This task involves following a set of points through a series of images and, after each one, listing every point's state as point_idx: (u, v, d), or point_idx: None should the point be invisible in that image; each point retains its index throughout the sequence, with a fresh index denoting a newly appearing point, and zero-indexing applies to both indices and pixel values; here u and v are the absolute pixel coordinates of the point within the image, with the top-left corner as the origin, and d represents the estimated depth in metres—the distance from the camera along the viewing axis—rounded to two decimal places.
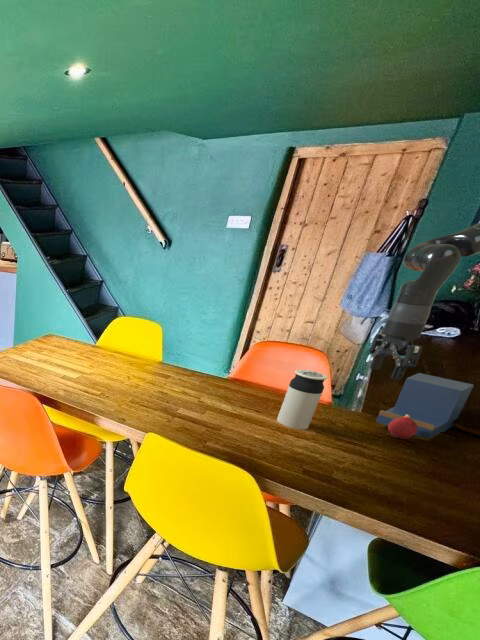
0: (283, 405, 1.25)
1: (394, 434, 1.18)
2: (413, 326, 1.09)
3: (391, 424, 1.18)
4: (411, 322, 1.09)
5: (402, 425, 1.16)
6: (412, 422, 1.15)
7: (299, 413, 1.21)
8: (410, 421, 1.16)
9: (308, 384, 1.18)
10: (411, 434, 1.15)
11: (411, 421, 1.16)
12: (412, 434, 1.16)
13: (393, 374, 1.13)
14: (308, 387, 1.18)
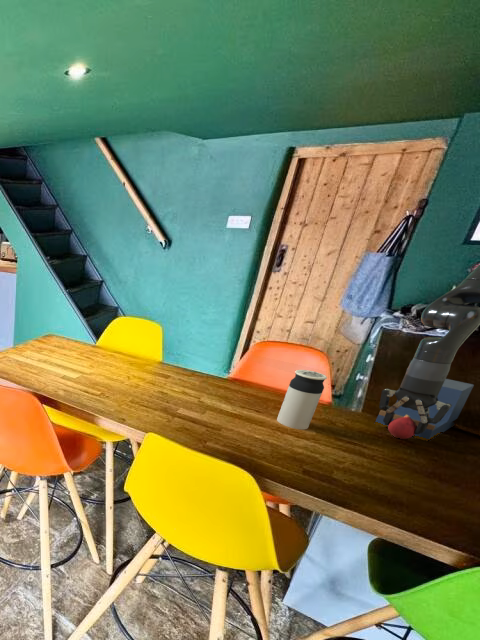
0: (283, 405, 1.25)
1: (394, 434, 1.18)
2: (442, 383, 1.09)
3: (391, 424, 1.18)
4: (442, 380, 1.08)
5: (402, 425, 1.16)
6: (412, 422, 1.15)
7: (299, 413, 1.21)
8: (410, 421, 1.16)
9: (308, 384, 1.18)
10: (411, 434, 1.15)
11: (411, 421, 1.16)
12: (412, 434, 1.16)
13: (418, 430, 1.14)
14: (308, 387, 1.18)
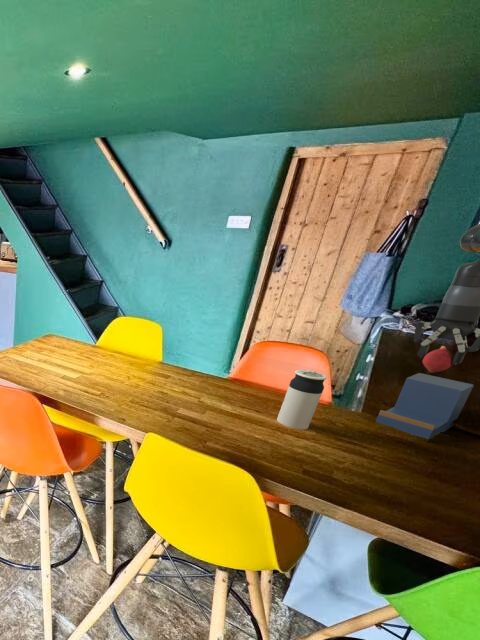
0: (283, 405, 1.25)
1: (429, 367, 1.16)
2: None
3: (426, 357, 1.16)
4: None
5: (439, 356, 1.14)
6: (449, 353, 1.13)
7: (299, 413, 1.21)
8: (446, 352, 1.13)
9: (308, 384, 1.18)
10: (448, 365, 1.13)
11: (447, 352, 1.13)
12: (449, 365, 1.13)
13: (455, 360, 1.12)
14: (308, 387, 1.18)
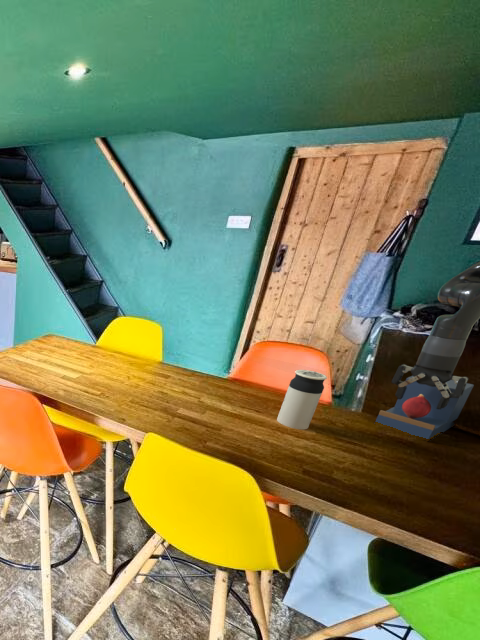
0: (283, 405, 1.25)
1: (408, 413, 1.22)
2: (457, 359, 1.12)
3: (405, 403, 1.22)
4: (457, 356, 1.12)
5: (417, 404, 1.20)
6: (426, 401, 1.19)
7: (299, 413, 1.21)
8: (424, 400, 1.19)
9: (308, 384, 1.18)
10: (425, 413, 1.19)
11: (425, 400, 1.19)
12: (426, 413, 1.19)
13: (440, 405, 1.16)
14: (308, 387, 1.18)
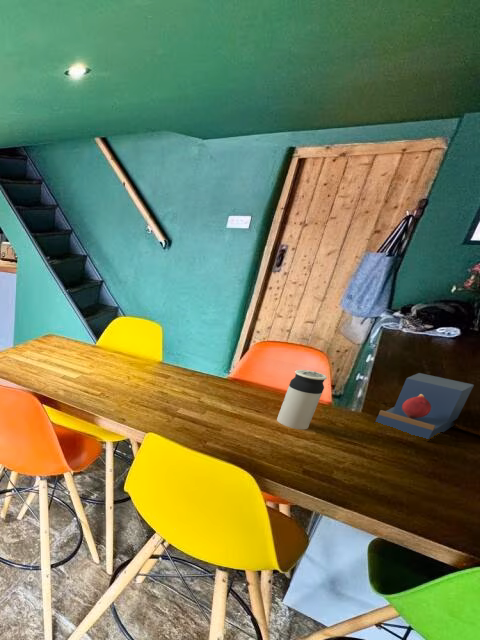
0: (283, 405, 1.25)
1: (408, 413, 1.22)
2: None
3: (405, 403, 1.22)
4: None
5: (417, 404, 1.20)
6: (426, 401, 1.19)
7: (299, 413, 1.21)
8: (424, 400, 1.19)
9: (308, 384, 1.18)
10: (425, 413, 1.19)
11: (425, 400, 1.19)
12: (426, 413, 1.19)
13: None
14: (308, 387, 1.18)
